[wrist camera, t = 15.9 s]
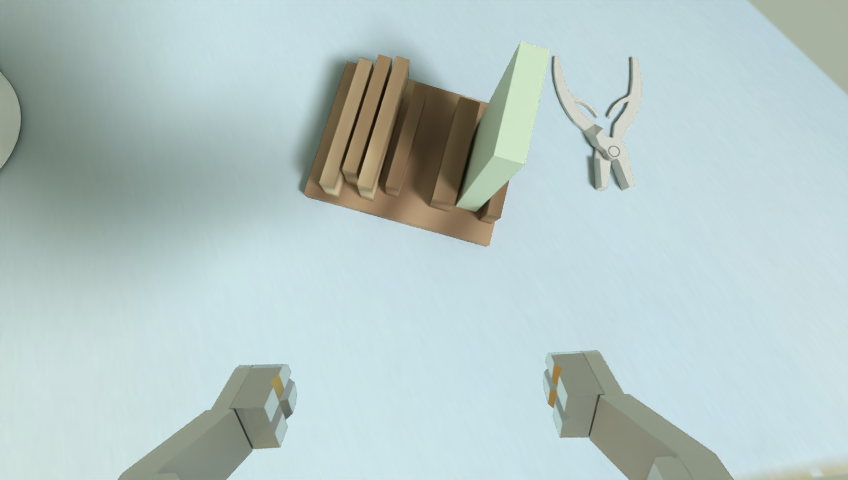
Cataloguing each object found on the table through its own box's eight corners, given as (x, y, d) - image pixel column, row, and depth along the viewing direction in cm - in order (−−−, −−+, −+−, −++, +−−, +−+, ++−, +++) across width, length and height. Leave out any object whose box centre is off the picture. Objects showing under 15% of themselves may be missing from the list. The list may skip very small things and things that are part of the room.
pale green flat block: (455, 206, 35) (493, 155, 22) (474, 130, 36) (520, 41, 23) (475, 211, 35) (525, 164, 22) (493, 136, 36) (550, 49, 23)
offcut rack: (306, 196, 35) (290, 178, 29) (348, 68, 37) (341, 28, 32) (486, 246, 36) (503, 237, 30) (516, 118, 38) (538, 88, 32)
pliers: (644, 52, 39) (664, 186, 37) (634, 61, 41) (653, 190, 39) (556, 50, 38) (571, 188, 36) (549, 60, 40) (564, 193, 38)
